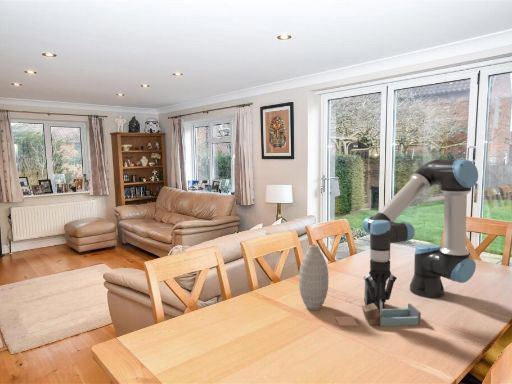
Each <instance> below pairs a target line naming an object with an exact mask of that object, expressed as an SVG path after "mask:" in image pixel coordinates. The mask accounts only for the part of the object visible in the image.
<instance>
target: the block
mask: <svg viewBox="0 0 512 384" xmlns="http://www.w3.org/2000/svg"><path fill="white" fill-rule="evenodd" d="M361 309H362V312H363V316H364V318H365V319H364V320H366V322H367V324H368V325H369V326H373V325H376V324H377V325H378V324H380V318H381V317H380V314H379V311H378V308H377V307H376V306H375V304H374V303H372V304H369V305H365V304H364V305H362V306H361Z"/></svg>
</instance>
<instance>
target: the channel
mask: <svg viewBox="0 0 512 384" xmlns="http://www.w3.org/2000/svg"><path fill="white" fill-rule="evenodd" d="M421 317H422V313H421V311H420V310H419V309H417V308H416V307H415V306H414V305H413V304H411V303H408V304H407V308H405V307H404V308H384V309H382V318H380V323H379V326H380V327H393V326H395V327H396V326H399V327H400V326H420V325H421Z"/></svg>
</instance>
